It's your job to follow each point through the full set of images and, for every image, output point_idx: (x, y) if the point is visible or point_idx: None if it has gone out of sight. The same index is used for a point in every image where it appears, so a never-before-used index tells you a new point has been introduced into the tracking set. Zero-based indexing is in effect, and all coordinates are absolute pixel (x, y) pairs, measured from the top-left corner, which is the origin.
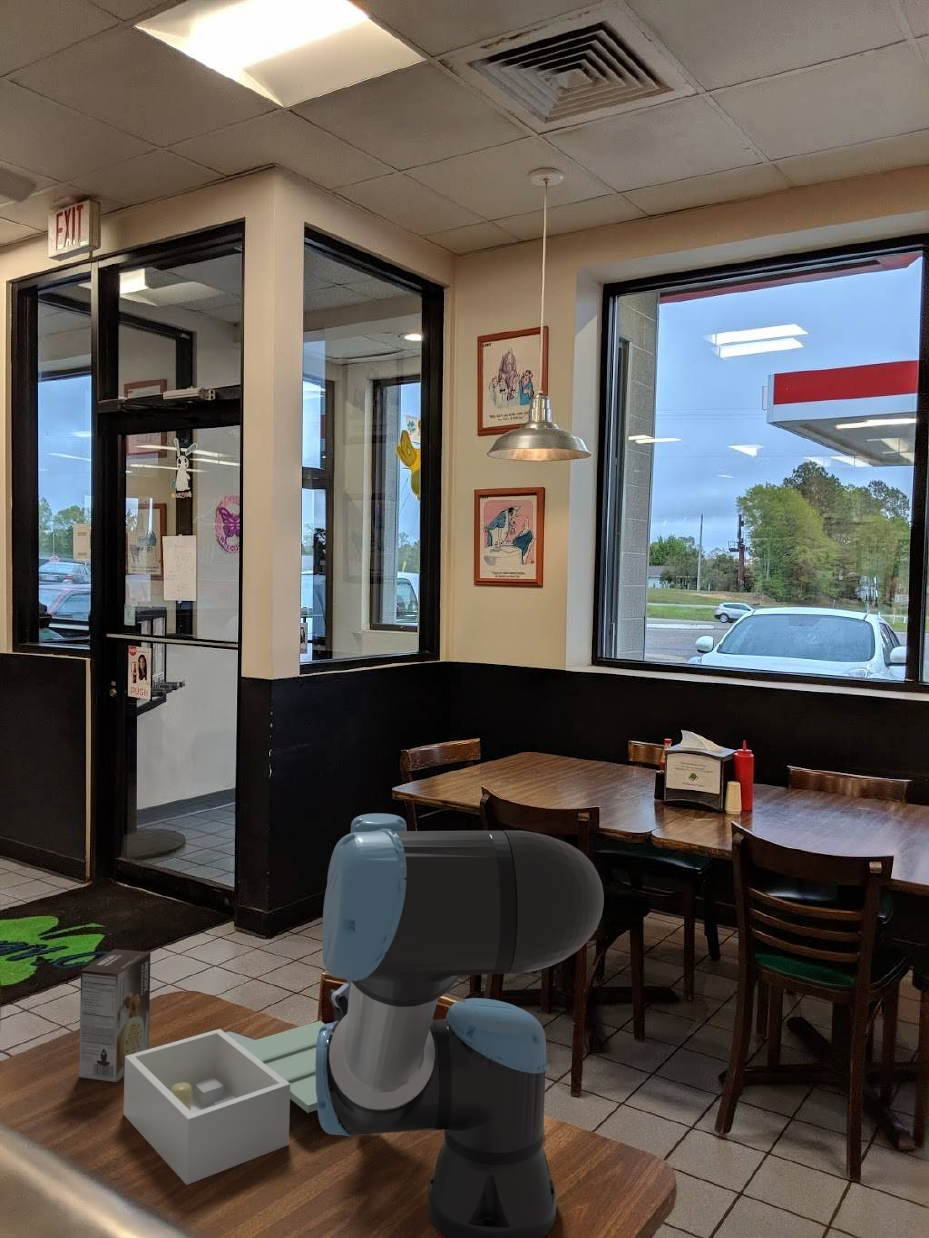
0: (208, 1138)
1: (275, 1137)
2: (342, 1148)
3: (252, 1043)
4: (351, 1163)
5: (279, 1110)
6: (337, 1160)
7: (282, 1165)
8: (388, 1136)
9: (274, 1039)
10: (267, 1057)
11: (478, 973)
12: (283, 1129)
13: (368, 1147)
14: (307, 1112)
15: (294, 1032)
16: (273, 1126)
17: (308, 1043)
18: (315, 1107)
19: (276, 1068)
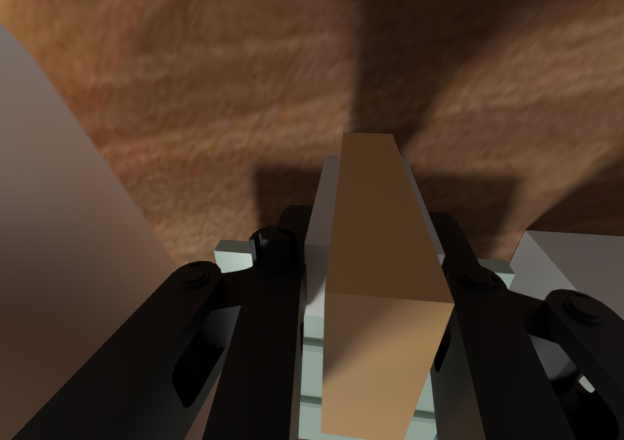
0: None
1: (578, 249)
2: (456, 146)
3: None
4: (497, 73)
5: (616, 295)
6: (508, 110)
7: (609, 178)
8: (336, 116)
9: (357, 438)
10: (418, 421)
11: None
12: (563, 255)
13: (407, 108)
14: (504, 262)
15: (314, 433)
16: (607, 269)
17: (317, 408)
18: (484, 263)
19: (428, 394)
